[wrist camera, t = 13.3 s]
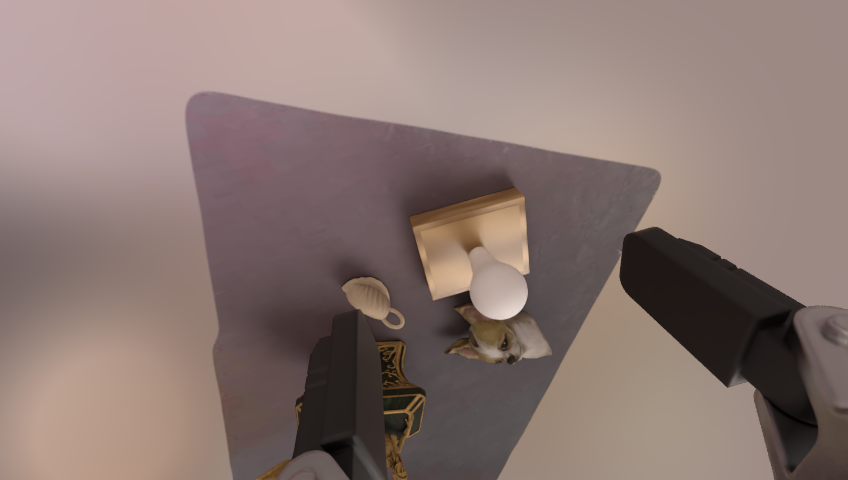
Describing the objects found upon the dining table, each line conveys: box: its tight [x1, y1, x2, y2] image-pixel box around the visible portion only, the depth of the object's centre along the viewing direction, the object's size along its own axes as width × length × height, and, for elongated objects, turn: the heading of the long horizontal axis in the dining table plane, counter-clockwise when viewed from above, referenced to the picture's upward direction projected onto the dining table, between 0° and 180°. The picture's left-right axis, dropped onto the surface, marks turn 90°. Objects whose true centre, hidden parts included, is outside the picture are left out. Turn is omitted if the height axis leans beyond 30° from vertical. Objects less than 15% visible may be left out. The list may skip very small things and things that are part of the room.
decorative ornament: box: [341, 277, 405, 329], centre depth 45 cm, size 4×8×5 cm, turn 48°
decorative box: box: [257, 341, 426, 480], centre depth 45 cm, size 20×10×20 cm, turn 84°
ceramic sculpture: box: [444, 303, 552, 364], centre depth 50 cm, size 11×9×15 cm
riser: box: [409, 188, 530, 300], centre depth 44 cm, size 12×14×3 cm
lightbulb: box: [469, 247, 528, 320], centre depth 38 cm, size 6×6×11 cm
